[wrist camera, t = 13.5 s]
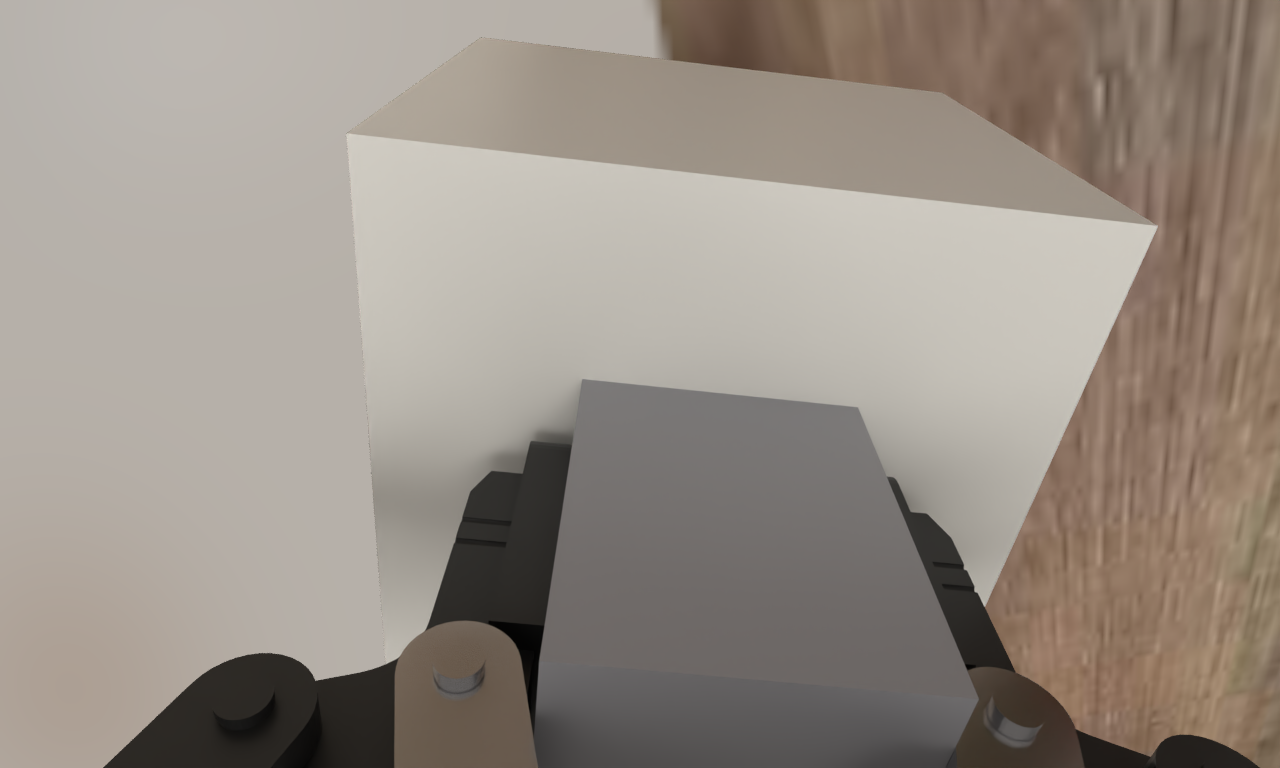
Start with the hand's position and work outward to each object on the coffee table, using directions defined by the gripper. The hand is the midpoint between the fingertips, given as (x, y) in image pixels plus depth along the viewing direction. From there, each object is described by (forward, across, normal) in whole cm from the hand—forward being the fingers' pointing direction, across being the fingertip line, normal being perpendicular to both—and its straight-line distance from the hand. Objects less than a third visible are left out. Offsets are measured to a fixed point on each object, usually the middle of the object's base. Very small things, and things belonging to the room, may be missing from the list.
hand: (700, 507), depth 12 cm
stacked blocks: (+9, 0, 0) cm, 9 cm away
